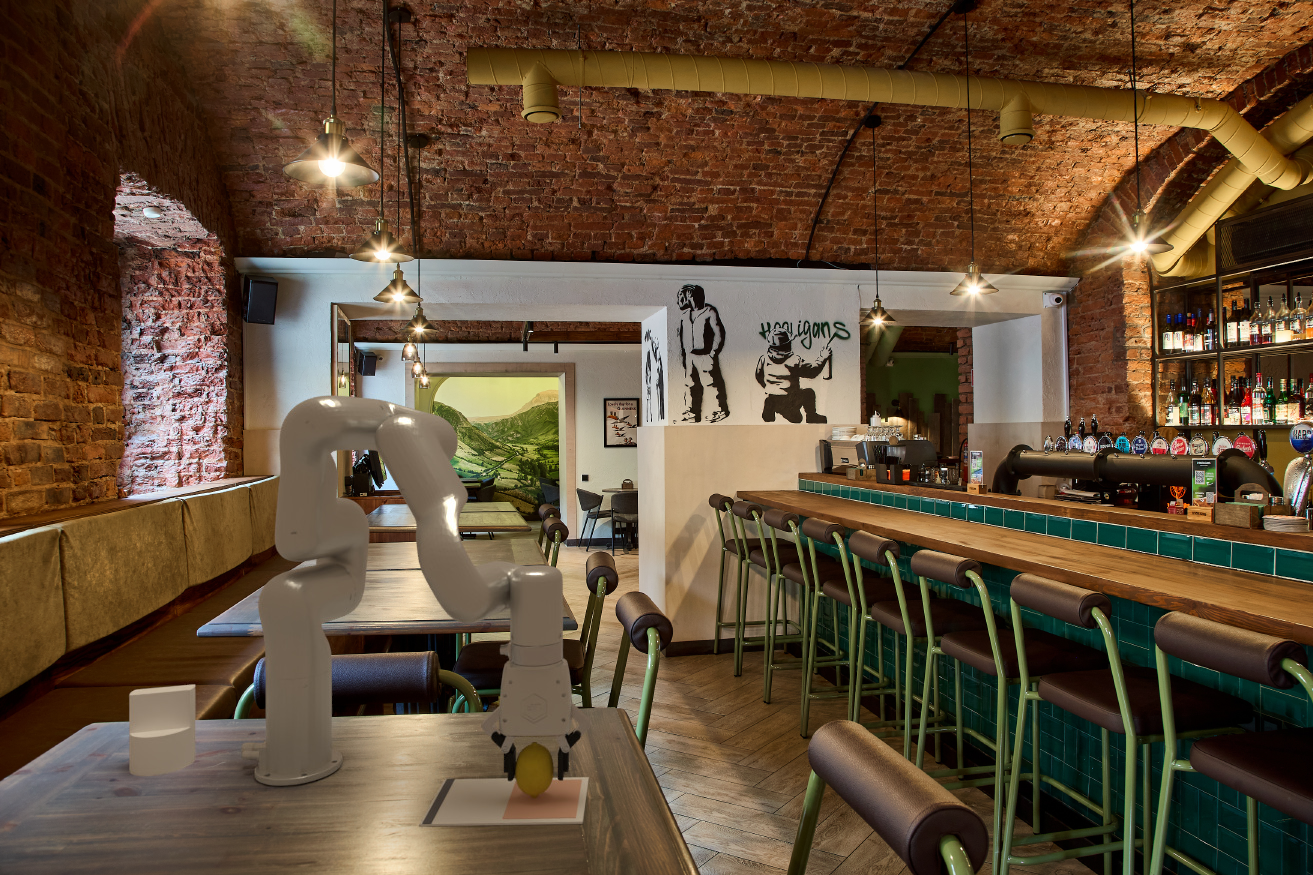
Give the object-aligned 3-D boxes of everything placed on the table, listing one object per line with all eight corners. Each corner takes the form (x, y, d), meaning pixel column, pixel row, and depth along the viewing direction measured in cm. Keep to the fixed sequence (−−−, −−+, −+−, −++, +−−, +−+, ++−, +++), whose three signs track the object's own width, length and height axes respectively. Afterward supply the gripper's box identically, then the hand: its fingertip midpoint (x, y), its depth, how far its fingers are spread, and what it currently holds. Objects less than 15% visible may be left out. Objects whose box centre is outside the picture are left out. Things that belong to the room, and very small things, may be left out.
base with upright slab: (201, 750, 132) (201, 678, 132) (187, 771, 123) (187, 695, 123) (139, 757, 129) (139, 684, 129) (121, 779, 120) (121, 701, 121)
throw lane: (419, 826, 105) (419, 823, 105) (444, 781, 119) (444, 778, 119) (582, 823, 106) (582, 820, 106) (588, 778, 120) (588, 776, 120)
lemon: (557, 790, 115) (557, 735, 115) (548, 807, 110) (548, 750, 110) (520, 788, 116) (520, 734, 116) (510, 805, 110) (510, 749, 110)
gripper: (470, 660, 109) (470, 789, 109) (595, 659, 109) (595, 787, 109) (481, 646, 116) (481, 766, 116) (598, 645, 117) (598, 765, 117)
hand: (536, 775), depth 113 cm, fingers open, 6 cm apart
